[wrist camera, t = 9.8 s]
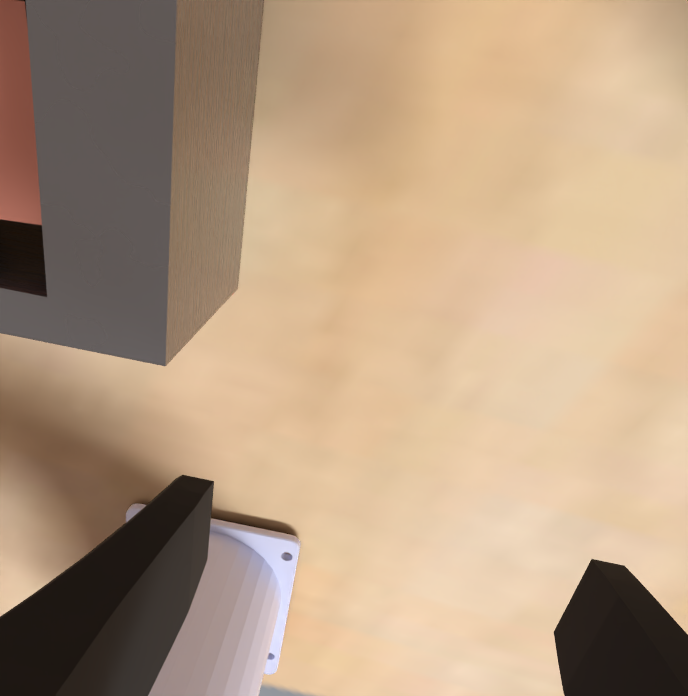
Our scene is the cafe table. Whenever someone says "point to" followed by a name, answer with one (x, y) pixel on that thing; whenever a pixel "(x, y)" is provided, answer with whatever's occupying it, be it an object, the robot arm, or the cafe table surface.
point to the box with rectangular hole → (133, 173)
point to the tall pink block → (17, 120)
